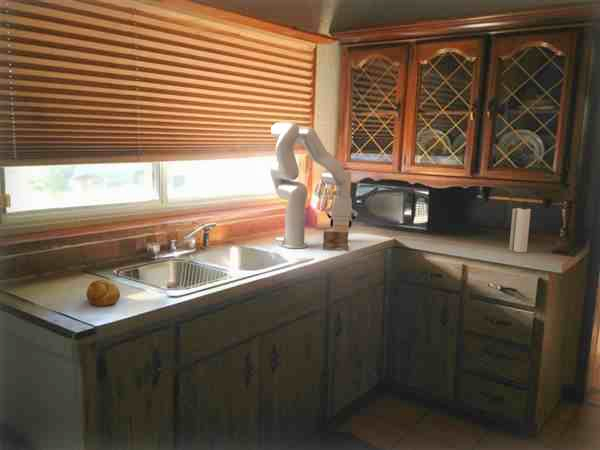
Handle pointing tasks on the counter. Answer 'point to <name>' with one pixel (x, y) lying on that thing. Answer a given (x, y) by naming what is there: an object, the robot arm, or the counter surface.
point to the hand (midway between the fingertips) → (340, 227)
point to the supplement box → (340, 224)
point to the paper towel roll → (519, 230)
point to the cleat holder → (335, 240)
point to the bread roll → (102, 293)
